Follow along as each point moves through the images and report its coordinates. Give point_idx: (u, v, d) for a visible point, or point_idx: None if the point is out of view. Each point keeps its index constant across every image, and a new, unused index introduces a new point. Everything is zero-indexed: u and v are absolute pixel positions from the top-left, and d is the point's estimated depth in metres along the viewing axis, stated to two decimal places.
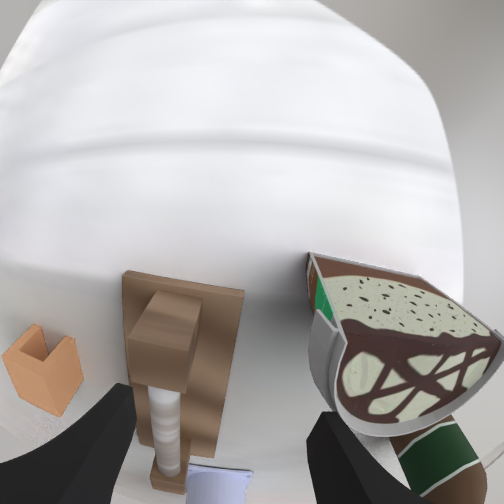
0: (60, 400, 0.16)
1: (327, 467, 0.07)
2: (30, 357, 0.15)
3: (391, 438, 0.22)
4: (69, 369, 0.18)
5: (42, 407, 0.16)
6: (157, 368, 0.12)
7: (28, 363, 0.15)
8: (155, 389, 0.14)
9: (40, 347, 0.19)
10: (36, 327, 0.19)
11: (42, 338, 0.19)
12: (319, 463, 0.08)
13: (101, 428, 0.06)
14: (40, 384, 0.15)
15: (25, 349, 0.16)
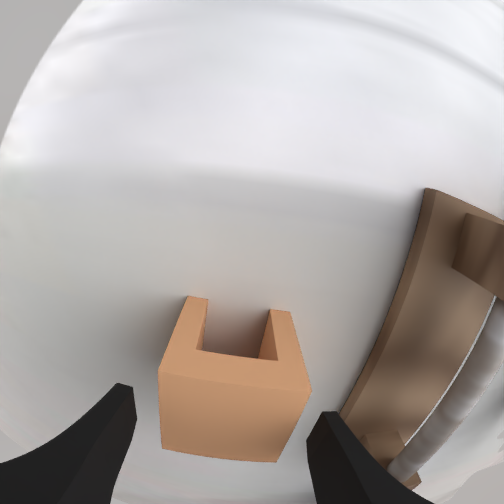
0: None
1: (327, 467, 0.07)
2: (240, 359, 0.09)
3: None
4: None
5: (234, 456, 0.09)
6: None
7: (248, 373, 0.09)
8: None
9: (202, 340, 0.13)
10: (200, 301, 0.13)
11: (204, 323, 0.13)
12: (319, 463, 0.08)
13: (101, 428, 0.06)
14: (281, 411, 0.09)
15: (197, 347, 0.10)
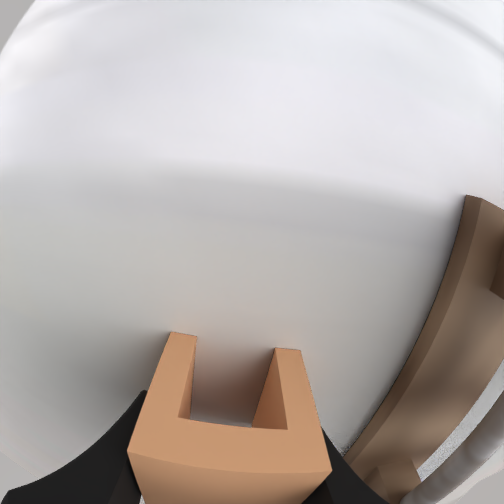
0: None
1: None
2: (238, 430, 0.06)
3: None
4: None
5: None
6: None
7: (248, 452, 0.06)
8: None
9: (190, 386, 0.10)
10: (186, 340, 0.10)
11: (193, 364, 0.10)
12: None
13: None
14: (290, 489, 0.05)
15: (182, 407, 0.07)
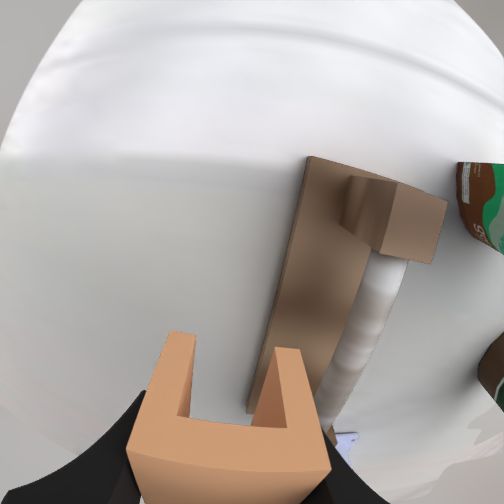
0: None
1: None
2: (237, 429, 0.06)
3: (487, 372, 0.20)
4: None
5: None
6: (416, 226, 0.10)
7: (248, 450, 0.06)
8: (391, 270, 0.12)
9: (189, 384, 0.10)
10: (185, 338, 0.10)
11: (192, 362, 0.10)
12: None
13: None
14: (290, 488, 0.05)
15: (181, 405, 0.07)
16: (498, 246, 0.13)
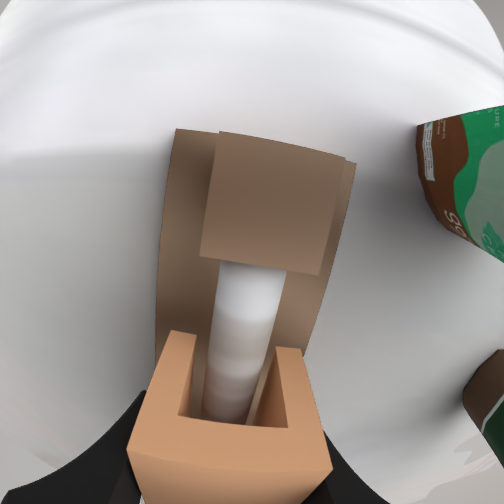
0: None
1: None
2: (238, 428, 0.06)
3: (473, 400, 0.16)
4: None
5: None
6: (273, 206, 0.06)
7: (249, 450, 0.06)
8: (243, 284, 0.08)
9: (190, 384, 0.10)
10: (186, 338, 0.10)
11: (193, 362, 0.10)
12: None
13: None
14: (291, 488, 0.05)
15: (181, 405, 0.07)
16: (481, 242, 0.09)
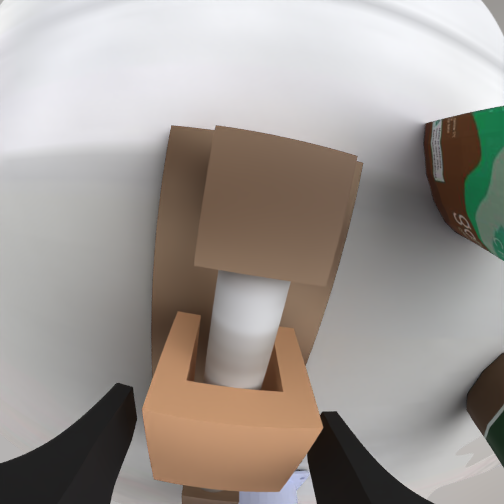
0: None
1: (327, 467, 0.07)
2: (239, 391, 0.08)
3: (477, 405, 0.15)
4: None
5: (234, 487, 0.08)
6: (276, 210, 0.06)
7: (249, 409, 0.07)
8: (243, 296, 0.07)
9: (194, 361, 0.11)
10: (191, 318, 0.11)
11: (197, 341, 0.12)
12: (319, 463, 0.08)
13: (101, 428, 0.06)
14: (287, 448, 0.07)
15: (189, 374, 0.09)
16: (492, 246, 0.09)
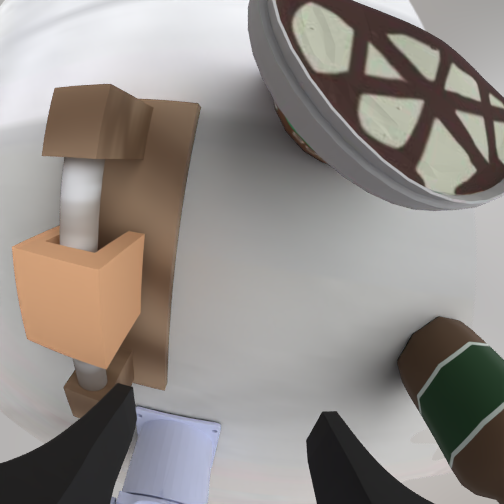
0: (111, 334, 0.11)
1: (327, 467, 0.07)
2: (68, 248, 0.10)
3: (406, 372, 0.18)
4: (130, 282, 0.13)
5: (71, 352, 0.10)
6: (72, 121, 0.08)
7: (64, 254, 0.10)
8: (66, 175, 0.10)
9: None
10: None
11: None
12: (319, 463, 0.08)
13: (101, 428, 0.06)
14: (83, 292, 0.10)
15: None
16: None
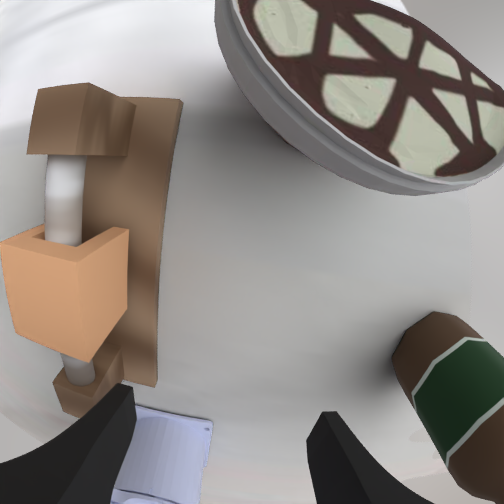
0: (93, 328, 0.11)
1: (327, 467, 0.07)
2: (52, 243, 0.10)
3: (400, 369, 0.18)
4: (114, 277, 0.13)
5: (56, 345, 0.10)
6: (54, 119, 0.08)
7: (47, 248, 0.10)
8: (49, 172, 0.09)
9: None
10: None
11: None
12: (319, 463, 0.08)
13: (101, 428, 0.06)
14: (64, 285, 0.09)
15: None
16: None
